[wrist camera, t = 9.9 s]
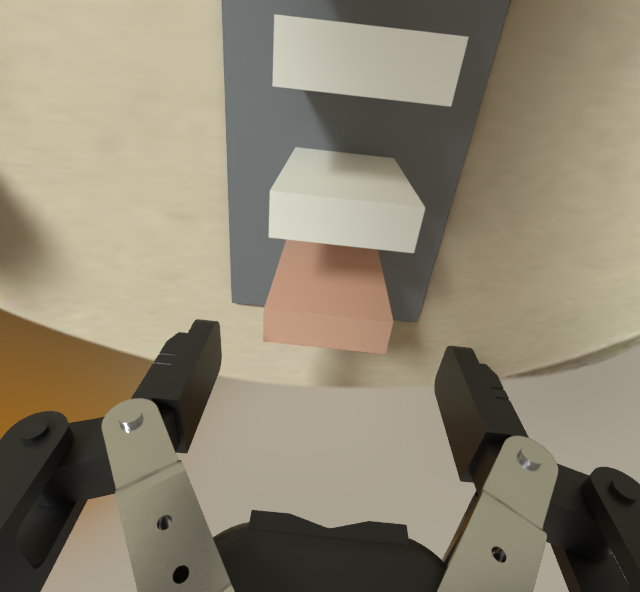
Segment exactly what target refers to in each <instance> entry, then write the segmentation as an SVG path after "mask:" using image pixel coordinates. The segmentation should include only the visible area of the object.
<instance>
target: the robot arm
mask: <svg viewBox="0 0 640 592" xmlns="http://www.w3.org/2000/svg"><path fill="white" fill-rule="evenodd" d="M221 358H222V353H221V338H220V325H219V322H218V321H208V320H199V319H197V320H195V321H194V323H193V325H192V327H191V328H190V330H189V332H188V333H181V332H179V333H177V334H176V335H175V336H173V337H172V338H171V339H169V340H168V341H167V342H166V343H165V345H164V347H163V348H162V350H161V351H160V355H158V356H157V358H156V359H155V361H154V364H152V366H151V367H150V369H149V371H148V373H147V374H146V376H145V377H144V379H143V380H142V382H141V384H140V385H139V387H138V388H137V390H136V392H135V393H134V395H133V396H132V398H131V399H130V400H127V401H124V402H122V403H120V404H118V405H116V406H115V407H113V408H112V409H111V410H110V411H109V412H108V413H107V414H106V415H105V417H101V418H97V419H91V420H85V421H79V422H72V423H68V421H67V419H66V417H65V416H64V415H63V414H61V413H59V412H54V411H46V412H40V413H36V414H33V415H30V416H28V417H26V418H24V419H22V420H20V421H19V422H17V423H16V424H15V425H14V426H12V427H11V428H10V429H9V430H8V431H7V432H6V433H5V435H4V436H3V437H2V438H1V440H0V592H40V591H41V589H42V587H43V586H44V584H45V582H46V579H47V578H48V576H49V574H50V572H51V570H52V568H53V566H54V564H55V562H56V560H57V558H58V556H59V554H60V552H61V550H62V549H63V547H64V545H65V543H66V540H67V539H68V537H69V535H70V533H71V531H72V529H73V527H74V525H75V523H76V521H77V519H78V517H79V515H80V514H81V512H82V510H83V508H84V505H85V504H86V502H87V500H88V499H92V498H96V497H101V496H106V495H110V494H115V495H116V499H117V504H118V508H119V513H120V517H121V522H122V526H123V530H124V534H125V539H126V543H127V548H128V552H129V556H130V560H131V565H132V569H133V574H134V578H135V582H136V587H137V590H138V592H533V589H534V585H535V582H536V578H537V574H538V570H539V567H540V563H541V559H542V555H543V551H544V547H545V544H546V542H549V543H551V546H552V549H553V551H554V554H555V556H556V559H557V562H558V564H559V567H560V569H561V572H562V574H563V577H564V580H565V582H566V585H567V587H568V590H569V592H640V484H639V483H638V482H636V481H635V480H634V479H633V478H631V477H629V476H628V475H626V474H625V473H623V472H621V471H618V470H616V469H613V468H609V467H599V468H596V469H595V470H594V471H593V472H592V473H591V475H586V474H583V473H581V472H578V471H575V470H573V469H570V468H567V467H565V466H562V465H559V464H557V463H556V461H555V459H554V457H553V456H552V455H551V453H550V452H549V451H548V450H547V449H546V448H545V447H543V446H542V445H541V444H539V443H538V442H536V441H534V440H532V439H530V438H529V437H528V436H527V433H526V431H525V430H524V427H523V425H522V424H521V422H520V420H519V418H518V416H517V414H516V412H515V410H514V408H513V406H512V404H511V402H510V401H509V400H508V396H507V394H506V392H505V391H504V390H503V386H502V384H501V382H500V380H499V378H498V376H497V375H496V374H495V373H494V372H493V371H492V370H491V369H490V368H489V367H488V366H487V365H486V364H479V362H478V359H477V357H476V355H475V353H474V351H473V349H471V348H466V347H457V346H448V347H447V348H446V351H445V353H444V356H443V359H442V361H441V364H440V367H439V370H438V372H437V375H436V379H435V395H436V398H437V402H438V406H439V409H440V412H441V416H442V419H443V423H444V426H445V430H446V433H447V437H448V440H449V444H450V447H451V450H452V453H453V457H454V461H455V464H456V467H457V471H458V474H459V478H460V481H463V482H473V483H474V484H475V488H476V492H475V494H474V496H473V498H472V500H471V502H470V504H469V506H468V508H467V510H466V512H465V514H464V517H463V518H462V521H461V523H460V525H459V527H458V529H457V531H456V533H455V535H454V537H453V539H452V541H451V543H450V545H449V547H448V549H447V551H446V553H445V555H444V557H443V559H442V560H441V559H440V558H439V557H438V556H437V555H435V554H434V553H433V552H432V551H430V550H429V549H428V548H426V547H425V546H423V545H422V544H420V543H418V542H416V541H414V540H412V539H409V538H408V533H407V526H406V525H403V524H393V523H382V522H372V521H367V522H362V523H357V524H351V525H346V526H341V527H336V528H326V527H323V526H321V525H318V524H315V523H313V522H310V521H308V520H305V519H302V518H300V517H297V516H294V515H292V514H288V513H277V512H267V511H257V510H252V512H251V517H250V522H248V523H243V524H239V525H236V526H233V527H231V528H229V529H227V530H225V531H223V532H221V533H219V534H218V535H216V536H215V537H212V535H211V532H210V530H209V527H208V525H207V522H206V520H205V517H204V515H203V512H202V510H201V507H200V505H199V503H198V500H197V497H196V495H195V492H194V490H193V488H192V485H191V483H190V480H189V478H188V475H187V473H186V470H185V468H184V466H183V464H182V462H181V460H178V458H177V455H176V452H177V453H188V450H189V447H190V445H191V442H192V440H193V437H194V434H195V432H196V430H197V427H198V424H199V422H200V419H201V417H202V414H203V411H204V409H205V406H206V404H207V401H208V399H209V396H210V394H211V391H212V389H213V386H214V384H215V381H216V378H217V376H218V373H219V370H220V366H221ZM613 554H614V555H613ZM614 556H615V557H614ZM615 558H616V559H615ZM616 560H617V561H616ZM617 562H618V563H617ZM618 564H619V565H618ZM619 566H620V567H619ZM620 568H621V569H620ZM621 570H622V571H621ZM622 572H623V573H622ZM623 574H624V575H623ZM624 576H625V577H624ZM625 578H626V579H625ZM626 580H627V581H626ZM627 582H628V583H627ZM628 584H629V585H628Z"/></svg>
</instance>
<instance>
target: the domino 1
mask: <svg viewBox="0 0 640 592" xmlns="http://www.w3.org/2000/svg"><path fill="white" fill-rule="evenodd" d="M468 38H469V37H466V36H458V35H449V34H440V33H432V32H423V31H414V30H406V29H397V28H388V27H380V26H371V25H362V24H354V23H345V22H337V21H328V20H319V19H311V18H302V17H293V16H285V15H276V14H274V43H273V83H272V86H274V87H282V88H291V89H300V90H309V91H318V92H327V93H335V94H344V95H353V96H362V97H371V98H379V99H388V100H397V101H406V102H415V103H424V104H432V105H441V106H450V107H451V105H452V101H453V97H454V93H455V89H456V85H457V81H458V77H459V73H460V69H461V65H462V61H463V58H464V54H465V50H466V46H467V42H468Z"/></svg>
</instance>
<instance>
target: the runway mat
mask: <svg viewBox="0 0 640 592" xmlns="http://www.w3.org/2000/svg"><path fill="white" fill-rule="evenodd" d="M509 3H510V0H222V23H223V52H224V82H225V112H226V141H227V171H228V200H229V230H230V259H231V289H232V303H240V304H249V305H259V306H265V304H266V301H267V298H268V295H269V292H270V289H271V285H272V282H273V279H274V276H275V273H276V270H277V267H278V264H279V261H280V257H281V254H282V251H283V248H284V245H285V242H286V239H278V238H269V201H270V189H271V188H272V186H273V184H274V183H275V181H276V179H277V178H278V176H279V174H280V173H281V171H282V169H283V168H284V166H285V164H286V163H287V161H288V159H289V157H290V156H291V154H292V152H293V151H294V149H295V147H299V148H308V149H317V150H326V151H335V152H343V153H352V154H361V155H370V156H379V157H388V158H394V159H395V161H396V162H397V164H398V165H399V167H400V168H401V170H402V172H403V173H404V175H405V176H406V178H407V180H408V181H409V183H410V184H411V186H412V187H413V189H414V191H415V192H416V194H417V195H418V197H419V199H420V200H421V202H422V203H423V205H424V206H425V211H424V215H423V219H422V223H421V227H420V231H419V235H418V239H417V243H416V247H415V251H414V253H406V252H397V251H388V250H379V249H378V252H379V257H380V261H381V266H382V271H383V275H384V280H385V285H386V289H387V294H388V299H389V303H390V308H391V313H392V317H393V320H399V321H409V322H417V321H418V318H419V314H420V311H421V307H422V304H423V300H424V297H425V293H426V290H427V286H428V283H429V280H430V276H431V273H432V269H433V266H434V262H435V259H436V255H437V252H438V248H439V245H440V242H441V238H442V235H443V231H444V228H445V224H446V221H447V217H448V214H449V210H450V207H451V204H452V200H453V197H454V193H455V190H456V186H457V183H458V179H459V176H460V173H461V169H462V166H463V162H464V159H465V155H466V152H467V148H468V145H469V141H470V138H471V135H472V131H473V128H474V124H475V121H476V117H477V114H478V110H479V107H480V103H481V100H482V97H483V93H484V90H485V86H486V83H487V79H488V76H489V72H490V69H491V66H492V62H493V59H494V55H495V52H496V48H497V45H498V41H499V38H500V34H501V31H502V28H503V24H504V21H505V17H506V14H507V10H508V7H509ZM274 14H276V15H285V16H293V17H302V18H311V19H319V20H328V21H337V22H345V23H354V24H362V25H371V26H380V27H388V28H397V29H406V30H414V31H423V32H432V33H440V34H449V35H458V36H466V37H469V38H468V42H467V46H466V50H465V54H464V58H463V61H462V65H461V69H460V73H459V77H458V81H457V85H456V89H455V93H454V97H453V101H452V105H451V107H450V106H441V105H432V104H424V103H415V102H406V101H397V100H388V99H379V98H371V97H362V96H353V95H344V94H335V93H327V92H318V91H309V90H300V89H291V88H282V87H274V86H272V83H273V43H274Z"/></svg>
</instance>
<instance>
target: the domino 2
mask: <svg viewBox="0 0 640 592" xmlns="http://www.w3.org/2000/svg"><path fill="white" fill-rule="evenodd" d="M424 211H425V206H424V205H423V203H422V202H421V200H420V199H419V197H418V195H417V194H416V192H415V191H414V189H413V187H412V186H411V184H410V183H409V181H408V180H407V178H406V176H405V175H404V173H403V172H402V170H401V168H400V167H399V165H398V164H397V162H396V161H395V159H394V158H388V157H379V156H370V155H361V154H352V153H343V152H335V151H326V150H317V149H308V148H299V147H295V149H294V151H293V152H292V154H291V156H290V157H289V159H288V161H287V163H286V164H285V166H284V168H283V169H282V171H281V173H280V174H279V176H278V178H277V179H276V181H275V183H274V184H273V186H272V188H271V189H270V201H269V238H278V239H287V240H296V241H305V242H314V243H324V244H333V245H342V246H351V247H360V248H370V249H379V250H388V251H397V252H406V253H414V251H415V247H416V243H417V239H418V235H419V231H420V227H421V223H422V219H423V215H424Z"/></svg>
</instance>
